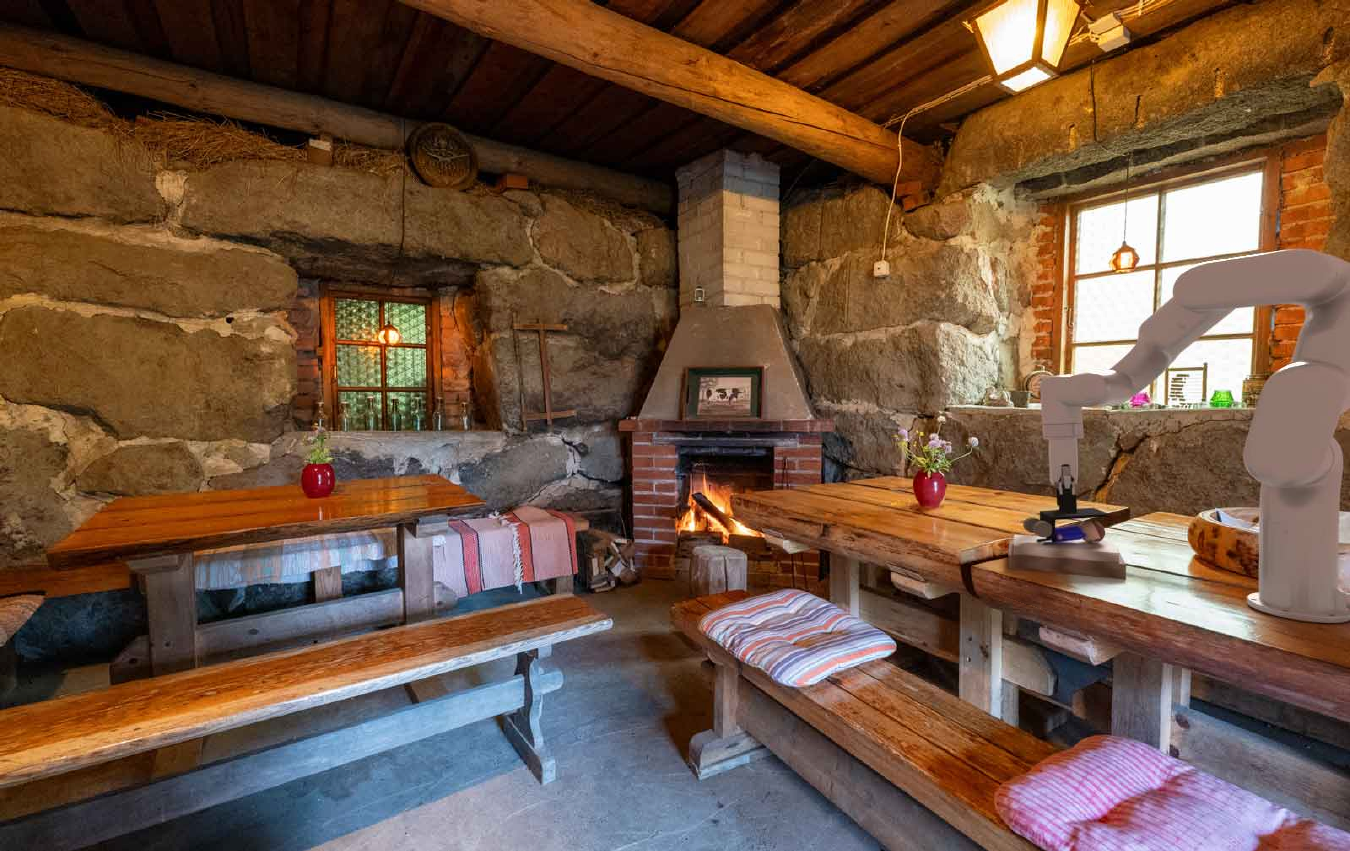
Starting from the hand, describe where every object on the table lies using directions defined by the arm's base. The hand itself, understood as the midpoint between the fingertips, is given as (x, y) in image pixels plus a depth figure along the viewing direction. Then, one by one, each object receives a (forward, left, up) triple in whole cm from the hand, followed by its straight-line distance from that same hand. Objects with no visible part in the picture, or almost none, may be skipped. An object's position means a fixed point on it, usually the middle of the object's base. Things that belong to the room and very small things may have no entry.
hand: (1066, 509), depth 135 cm
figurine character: (0, -1, -8) cm, 8 cm away
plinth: (+1, 0, -13) cm, 13 cm away
